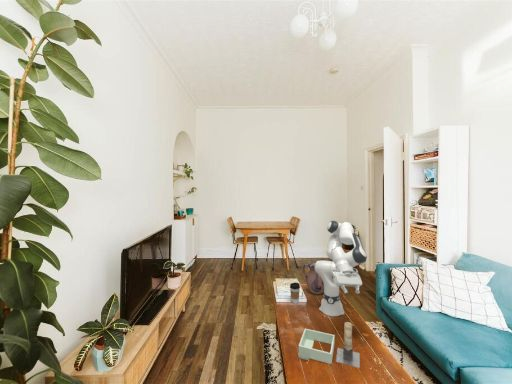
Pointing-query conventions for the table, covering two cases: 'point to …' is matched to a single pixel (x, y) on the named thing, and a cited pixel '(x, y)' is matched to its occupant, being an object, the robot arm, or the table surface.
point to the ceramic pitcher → (314, 280)
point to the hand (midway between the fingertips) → (352, 293)
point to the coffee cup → (294, 292)
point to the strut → (348, 342)
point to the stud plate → (353, 363)
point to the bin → (309, 352)
